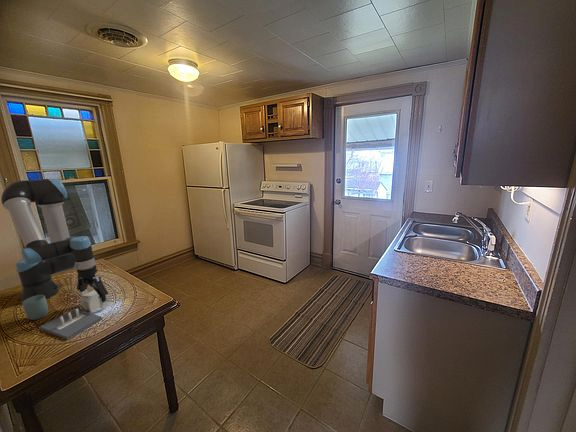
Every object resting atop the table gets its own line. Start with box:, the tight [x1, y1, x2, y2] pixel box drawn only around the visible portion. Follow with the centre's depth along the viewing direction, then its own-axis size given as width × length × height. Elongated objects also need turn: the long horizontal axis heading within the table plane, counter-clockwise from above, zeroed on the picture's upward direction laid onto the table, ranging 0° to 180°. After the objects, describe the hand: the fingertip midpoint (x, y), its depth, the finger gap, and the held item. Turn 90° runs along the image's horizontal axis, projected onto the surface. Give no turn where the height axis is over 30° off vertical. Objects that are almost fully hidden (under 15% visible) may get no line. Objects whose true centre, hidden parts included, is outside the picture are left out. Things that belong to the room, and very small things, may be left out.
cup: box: [21, 295, 49, 321], centre depth 117 cm, size 8×8×10 cm
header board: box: [39, 308, 103, 341], centre depth 112 cm, size 20×14×6 cm
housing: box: [80, 289, 108, 313], centre depth 125 cm, size 5×8×8 cm, turn 160°
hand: (95, 304), depth 126 cm, fingers open, 13 cm apart
